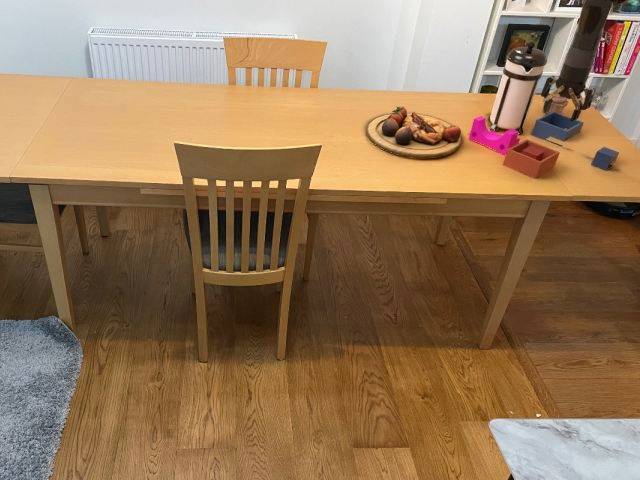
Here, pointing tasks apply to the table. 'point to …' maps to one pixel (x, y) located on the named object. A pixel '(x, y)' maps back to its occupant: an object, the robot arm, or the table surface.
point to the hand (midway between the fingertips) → (559, 116)
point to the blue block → (605, 158)
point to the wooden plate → (414, 135)
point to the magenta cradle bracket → (493, 136)
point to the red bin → (530, 159)
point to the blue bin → (556, 127)
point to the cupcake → (556, 103)
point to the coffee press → (517, 87)
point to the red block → (533, 153)
